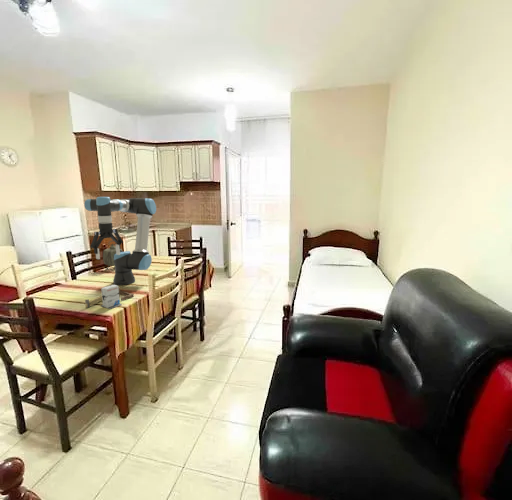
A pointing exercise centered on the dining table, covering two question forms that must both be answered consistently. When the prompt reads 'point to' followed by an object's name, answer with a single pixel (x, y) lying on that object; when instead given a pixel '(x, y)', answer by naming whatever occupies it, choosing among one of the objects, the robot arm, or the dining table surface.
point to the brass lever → (92, 301)
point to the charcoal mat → (113, 306)
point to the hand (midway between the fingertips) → (108, 256)
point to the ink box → (110, 296)
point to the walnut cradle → (128, 295)
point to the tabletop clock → (109, 255)
